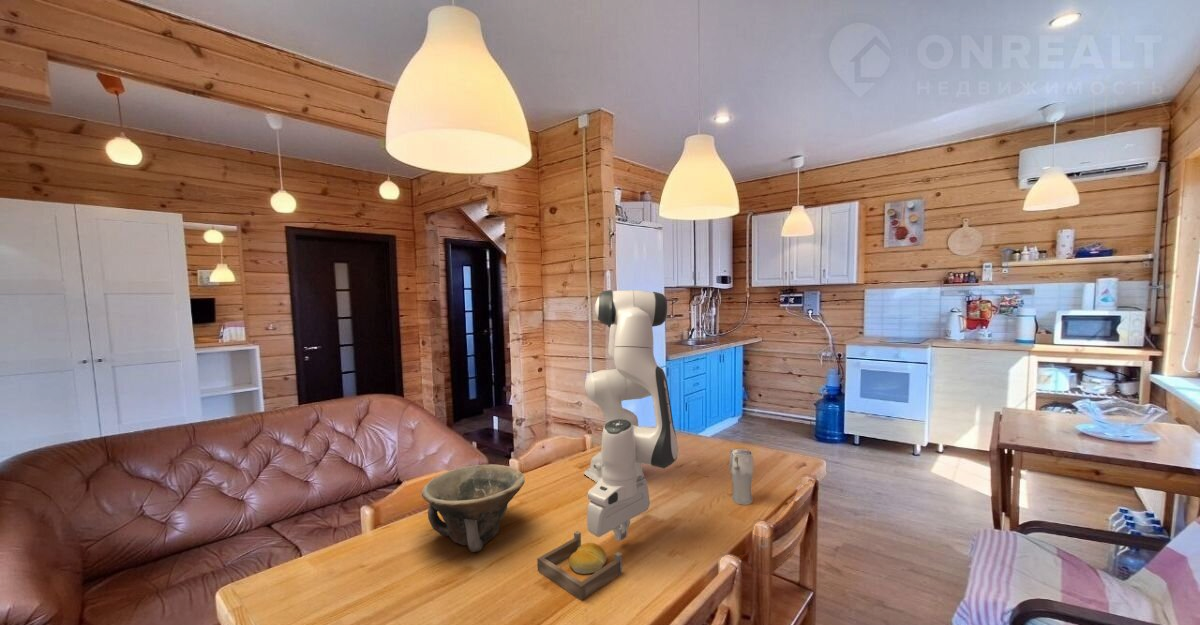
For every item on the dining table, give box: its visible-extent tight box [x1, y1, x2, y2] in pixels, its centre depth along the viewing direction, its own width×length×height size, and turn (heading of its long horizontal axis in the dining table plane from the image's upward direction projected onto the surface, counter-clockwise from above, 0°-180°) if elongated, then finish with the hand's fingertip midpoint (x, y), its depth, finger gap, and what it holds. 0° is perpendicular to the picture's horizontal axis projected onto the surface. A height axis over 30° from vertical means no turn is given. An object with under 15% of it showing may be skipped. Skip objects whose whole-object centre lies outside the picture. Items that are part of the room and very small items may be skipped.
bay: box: [536, 530, 623, 601], centre depth 102 cm, size 15×13×4 cm
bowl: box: [421, 464, 526, 553], centre depth 121 cm, size 27×26×15 cm
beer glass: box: [729, 448, 754, 506], centre depth 135 cm, size 7×7×15 cm
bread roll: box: [568, 542, 607, 575], centre depth 105 cm, size 8×9×4 cm
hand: (621, 538), depth 113 cm, fingers closed
